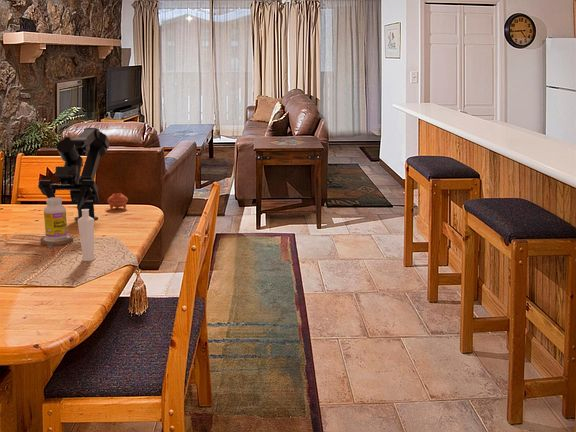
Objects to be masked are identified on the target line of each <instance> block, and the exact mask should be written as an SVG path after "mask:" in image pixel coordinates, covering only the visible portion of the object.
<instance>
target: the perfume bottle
mask: <svg viewBox="0 0 576 432" xmlns="http://www.w3.org/2000/svg"><path fill="white" fill-rule="evenodd" d="M81 211H82V217H81V218H79V219H78V220H77V225H78V226H77V227H78V233H79V239H80V241H79V242H80V248H81V254H82V255H81V256H82V257H81V261H82V262H83V261H84V262H91V261H95V260H96V257H95V252H94V251H95V220H94V219H93V218H91V217H90V216H89V209H82V210H81Z"/></svg>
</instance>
